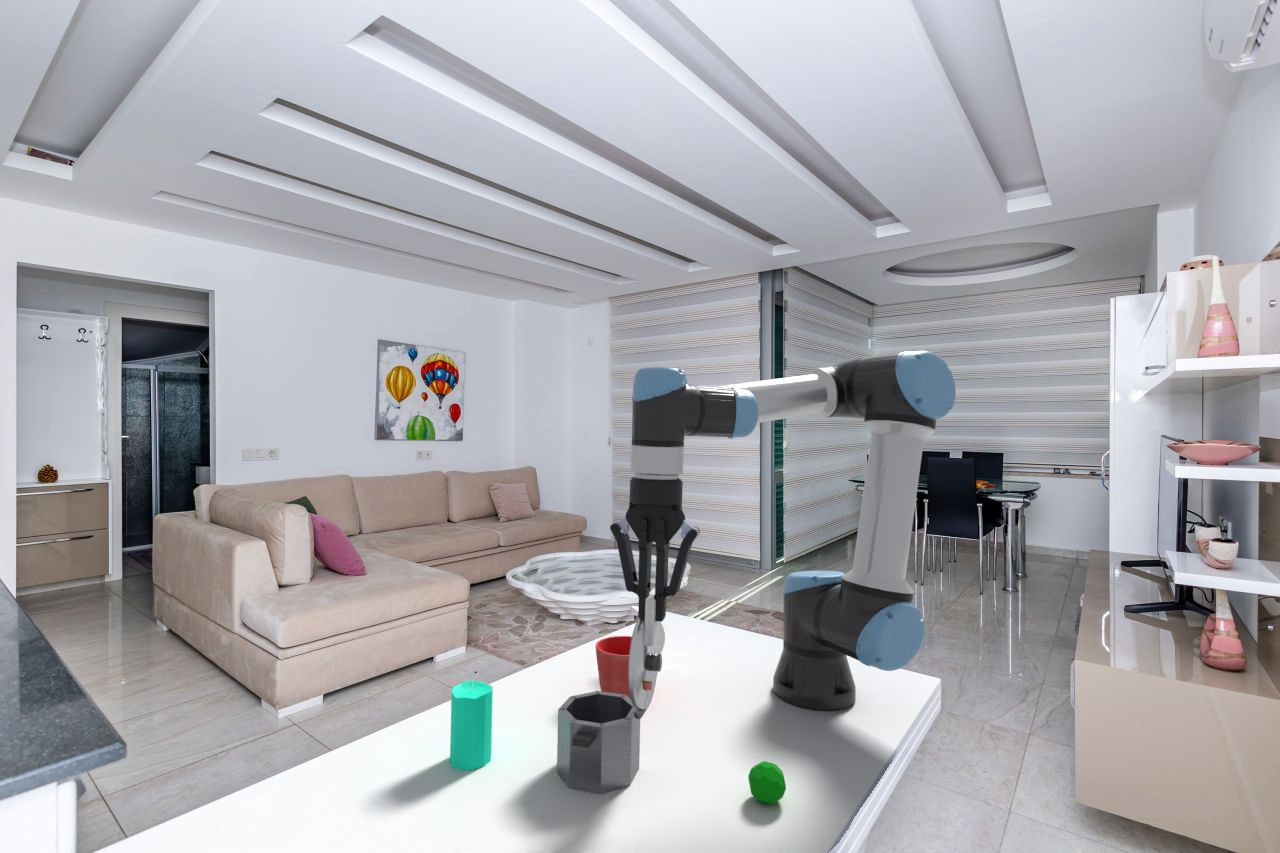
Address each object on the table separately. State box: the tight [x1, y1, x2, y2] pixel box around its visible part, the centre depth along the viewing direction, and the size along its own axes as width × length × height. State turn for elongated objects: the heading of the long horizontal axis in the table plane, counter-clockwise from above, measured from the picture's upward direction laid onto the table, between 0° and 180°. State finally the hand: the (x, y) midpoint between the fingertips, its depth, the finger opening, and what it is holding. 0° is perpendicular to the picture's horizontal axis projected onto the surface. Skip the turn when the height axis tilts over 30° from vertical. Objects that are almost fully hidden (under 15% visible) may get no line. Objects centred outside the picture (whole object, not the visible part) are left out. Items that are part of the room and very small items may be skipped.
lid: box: [628, 618, 663, 720], centre depth 89 cm, size 13×12×3 cm
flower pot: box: [595, 635, 632, 699], centre depth 116 cm, size 11×11×10 cm
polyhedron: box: [747, 761, 787, 805], centre depth 84 cm, size 5×5×5 cm
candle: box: [449, 677, 494, 771], centre depth 93 cm, size 6×6×12 cm
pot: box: [556, 690, 641, 795], centre depth 91 cm, size 11×15×9 cm
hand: (650, 642), depth 89 cm, fingers closed
